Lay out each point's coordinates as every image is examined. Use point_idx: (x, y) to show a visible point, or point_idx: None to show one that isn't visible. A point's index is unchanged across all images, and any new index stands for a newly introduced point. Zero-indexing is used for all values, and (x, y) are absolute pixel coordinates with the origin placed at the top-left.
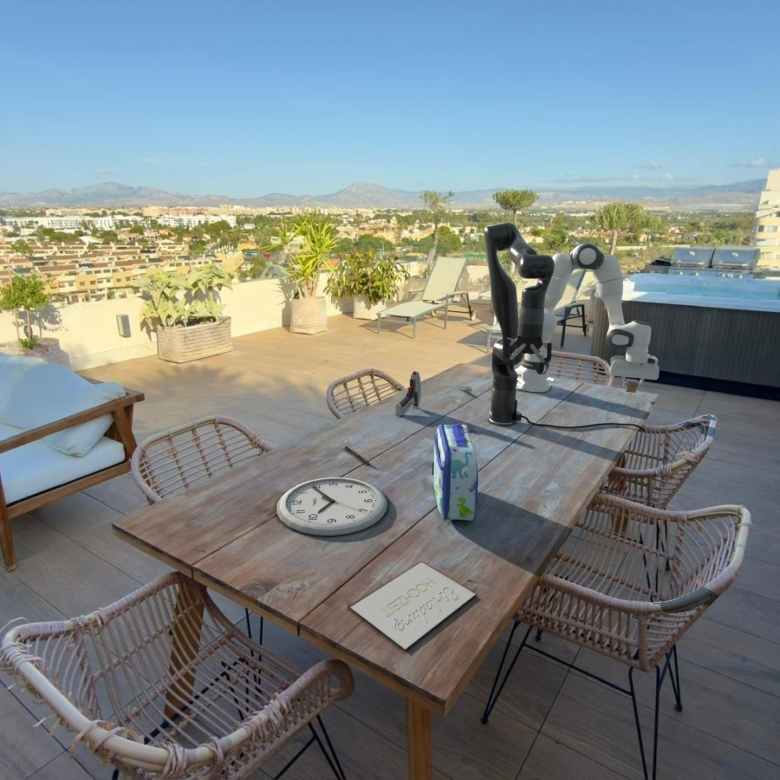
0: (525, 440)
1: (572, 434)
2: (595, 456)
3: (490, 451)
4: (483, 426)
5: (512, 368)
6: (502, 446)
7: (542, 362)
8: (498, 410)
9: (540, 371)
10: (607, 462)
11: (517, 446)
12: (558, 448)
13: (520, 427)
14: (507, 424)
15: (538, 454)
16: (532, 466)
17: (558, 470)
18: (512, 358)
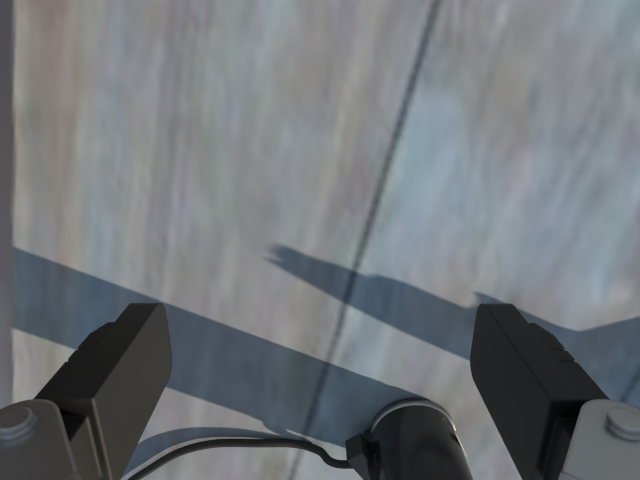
0: (312, 307)
1: (171, 408)
2: (66, 261)
3: (425, 162)
4: (469, 372)
5: (503, 318)
6: (385, 225)
7: (32, 405)
8: (436, 441)
9: (125, 318)
10: (19, 226)
11: (333, 246)
12: (194, 281)
13: (343, 406)
14: (388, 408)
15: (251, 203)
16: (255, 83)
17: (160, 86)
18: (601, 419)
